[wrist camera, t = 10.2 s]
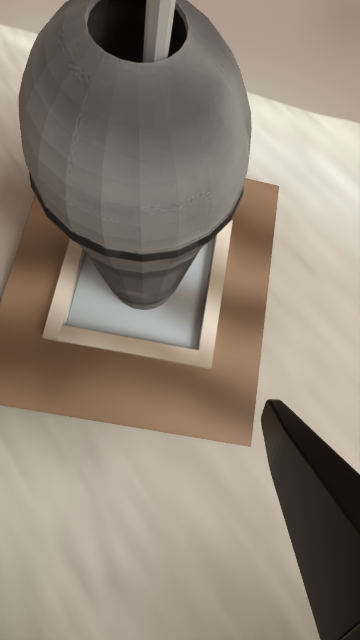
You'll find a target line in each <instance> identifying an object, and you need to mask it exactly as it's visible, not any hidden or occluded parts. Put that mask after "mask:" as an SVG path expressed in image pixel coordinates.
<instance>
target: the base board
mask: <svg viewBox="0 0 360 640" xmlns="http://www.w3.org/2000/svg"><path fill="white" fill-rule="evenodd" d="M278 190H279V186H277V185H272V184H268V183H263V182H259V181H255V180H250V179H246V178H245V182H244V192H243V196H242V198H241V200H240V202H239V205H238V207H237V209H236V211H235V213H234V215H233V217H232V219H231V221H230V222H229V223H228V224H227V225H226V226H225V227H224V228H223V229H222V230H221V231H220V232H219V233H218V234H217V235H216V236H215V237H214V238H213V239H212V240H211V241H210V242H209V243H207V244H206V245H205V246H204V247H202V248H201V249H200V251H199V253H198V254H197V256H196V258H195V259H194V261H193V263H192V264H191V266H190V267H189V269H188V271H187V272H186V274H185V276H184V277H183V279H182V281H181V282H180V284H179V286H178V287H177V289H176V291H175V292H174V293H173V294H172V295H171V297H170V298H169V299H168V300H167V301H166V302H165V303H164V304H163V305H161V306H159V307H157V308H155V309H149V310H139V309H134V308H132V307H129V306H127V305H125V304H124V303H123V302H122V301H121V300H120V299H119V298H118V297H117V296H116V295H115V294H114V293H113V292H112V290H111V289H110V287H109V286H108V284H107V283H106V282H105V280H104V279H103V277H102V276H101V274H100V273H99V271H98V270H97V268H96V267H95V266H94V264H93V263H92V261H91V260H90V258H89V257H88V255H87V254H86V252H85V251H84V250H83V248H81V247H80V246H79V245H78V244H77V243H76V242H74V241H72V240H71V239H70V238H69V237H68V236H67V235H66V234H65V233H64V232H63V231H62V230H61V229H59V228H58V227H57V226H56V225H55V224H54V223H53V222H52V221H51V220H50V219H49V218H48V217H47V216H46V214H45V212H44V210H43V208H42V206H41V205H40V203H39V201H38V199H37V197H36V195H35V198H34V201H33V204H32V207H31V210H30V213H29V216H28V219H27V222H26V225H25V229H24V232H23V235H22V238H21V241H20V244H19V247H18V250H17V253H16V256H15V259H14V262H13V265H12V268H11V271H10V275H9V278H8V281H7V284H6V287H5V290H4V293H3V296H2V299H1V302H0V405H4V406H10V407H16V408H22V409H28V410H34V411H40V412H46V413H52V414H58V415H64V416H70V417H76V418H82V419H88V420H94V421H100V422H106V423H112V424H118V425H124V426H130V427H136V428H142V429H148V430H154V431H160V432H166V433H172V434H178V435H184V436H190V437H195V438H201V439H207V440H213V441H219V442H225V443H231V444H237V445H243V446H249V447H251V440H252V431H253V422H254V412H255V403H256V394H257V385H258V375H259V366H260V357H261V348H262V338H263V329H264V320H265V311H266V301H267V292H268V283H269V274H270V264H271V255H272V246H273V237H274V227H275V218H276V209H277V200H278Z"/></svg>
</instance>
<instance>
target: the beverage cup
mask: <svg viewBox="0 0 360 640" xmlns="http://www.w3.org/2000/svg"><path fill="white" fill-rule="evenodd" d="M19 119H20V129H21V138H22V147H23V152H24V157H25V161H26V164H27V167H28V169H29V174H30V182H31V187H32V189H33V191H34V193H35V195H36V197H37V199H38V201H39V203H40V205H41V206H42V208H43V210H44V212H45V214H46V216H47V217H48V218H49V219H50V220H51V221H52V222H53V223H54V224H55V225H56V226H57V227H58V228H59V229H61V230H62V231H63V232H64V233H65V234H66V235H67V236H68V237H69V238H70V239H71V240H72V241H74V242H76V243H77V244H78V245H79V246H80V247H81V248H83V250H84V251H85V252H86V254H87V255H88V257H89V258H90V260H91V261H92V263H93V264H94V266H95V267H96V268H97V270H98V271H99V273H100V274H101V276H102V277H103V279H104V280H105V282H106V283H107V284H108V286H109V287H110V289H111V290H112V292H113V293H114V294H115V295H116V296H117V297H118V298H119V299H120V300H121V301H122V302H123V303H124V304H125V305H127V306H129V307H132V308H134V309H139V310H149V309H155V308H157V307H159V306H161V305H163V304H164V303H165V302H166V301H167V300H168V299H169V298H170V297H171V295H172V294H173V293H174V292H175V291H176V289H177V287H178V286H179V284H180V282H181V281H182V279H183V277H184V276H185V274H186V272H187V271H188V269H189V267H190V266H191V264H192V263H193V261H194V259H195V258H196V256H197V254H198V253H199V251H200V249H201V248H202V247H204V246H205V245H206V244H207V243H209V242H210V241H211V240H212V239H213V238H214V237H215V236H216V235H217V234H218V233H219V232H220V231H221V230H222V229H223V228H224V227H225V226H226V225H227V224H228V223H229V222H230V221H231V219H232V217H233V215H234V213H235V211H236V209H237V207H238V205H239V202H240V200H241V198H242V196H243V192H244V182H245V177H246V174H247V168H248V162H249V153H250V140H251V111H250V106H249V102H248V97H247V93H246V90H245V86H244V83H243V79H242V76H241V72H240V69H239V66H238V64H237V62H236V59H235V57H234V55H233V53H232V51H231V50H230V48H229V47H228V45H227V44H226V42H225V41H224V40H223V38H222V36H221V35H220V34H219V32H218V31H217V29H216V28H215V27H214V25H213V24H212V23H211V21H210V20H209V19H208V18H207V17H206V16H205V15H204V14H203V13H201V12H200V11H199V10H198V9H197V8H195V7H194V6H193V5H192V4H191V3H189V2H188V1H186V0H69V1H67V2H65V4H64V5H63V6H62V7H61V8H60V9H59V10H58V11H57V12H56V14H55V15H54V16H53V17H52V18H51V19H50V21H49V22H48V23H47V24H46V26H45V27H44V28H43V29H42V30H41V32H40V33H39V34H38V36H37V38H36V40H35V42H34V45H33V47H32V49H31V51H30V55H29V58H28V61H27V64H26V68H25V71H24V74H23V77H22V82H21V87H20V92H19Z"/></svg>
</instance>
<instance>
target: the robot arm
mask: <svg viewBox="0 0 360 640" xmlns="http://www.w3.org/2000/svg"><path fill="white" fill-rule="evenodd" d="M261 425H262V430H263V436H264V441H265V446H266V452H267V457H268V463H269V467H270V471H271V475H272V479H273V482H274V485H275V489H276V492H277V495H278V499H279V502H280V506H281V509H282V512H283V516H284V519H285V522H286V526H287V529H288V532H289V536H290V539H291V542H292V546H293V549H294V552H295V556H296V559H297V562H298V566H299V569H300V573H301V576H302V579H303V583H304V586H305V589H306V593H307V596H308V599H309V603H310V606H311V609H312V613H313V616H314V619H315V623H316V626H317V629H318V633H319V636H320V639H321V640H360V474H359V473H357V472H356V471H355V470H354V469H353V468H352V467H351V466H350V465H349V464H348V463H347V462H346V461H345V460H344V459H343V458H342V457H341V456H339V455H338V454H337V453H336V452H335V451H334V450H333V449H332V448H331V447H330V446H329V445H328V444H327V443H326V442H325V441H324V440H322V439H321V438H320V437H319V436H318V435H317V434H316V433H315V432H314V431H313V430H312V429H311V428H310V427H309V426H308V425H307V424H306V423H304V422H303V421H302V420H301V419H300V418H299V417H298V416H297V415H296V414H295V413H294V412H293V411H292V410H291V409H290V408H289V407H287V406H286V405H285V404H284V403H283V402H282V401H281V400H278V399H269V400H267V401H266V403H265V407H264V410H263V413H262V416H261Z"/></svg>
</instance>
